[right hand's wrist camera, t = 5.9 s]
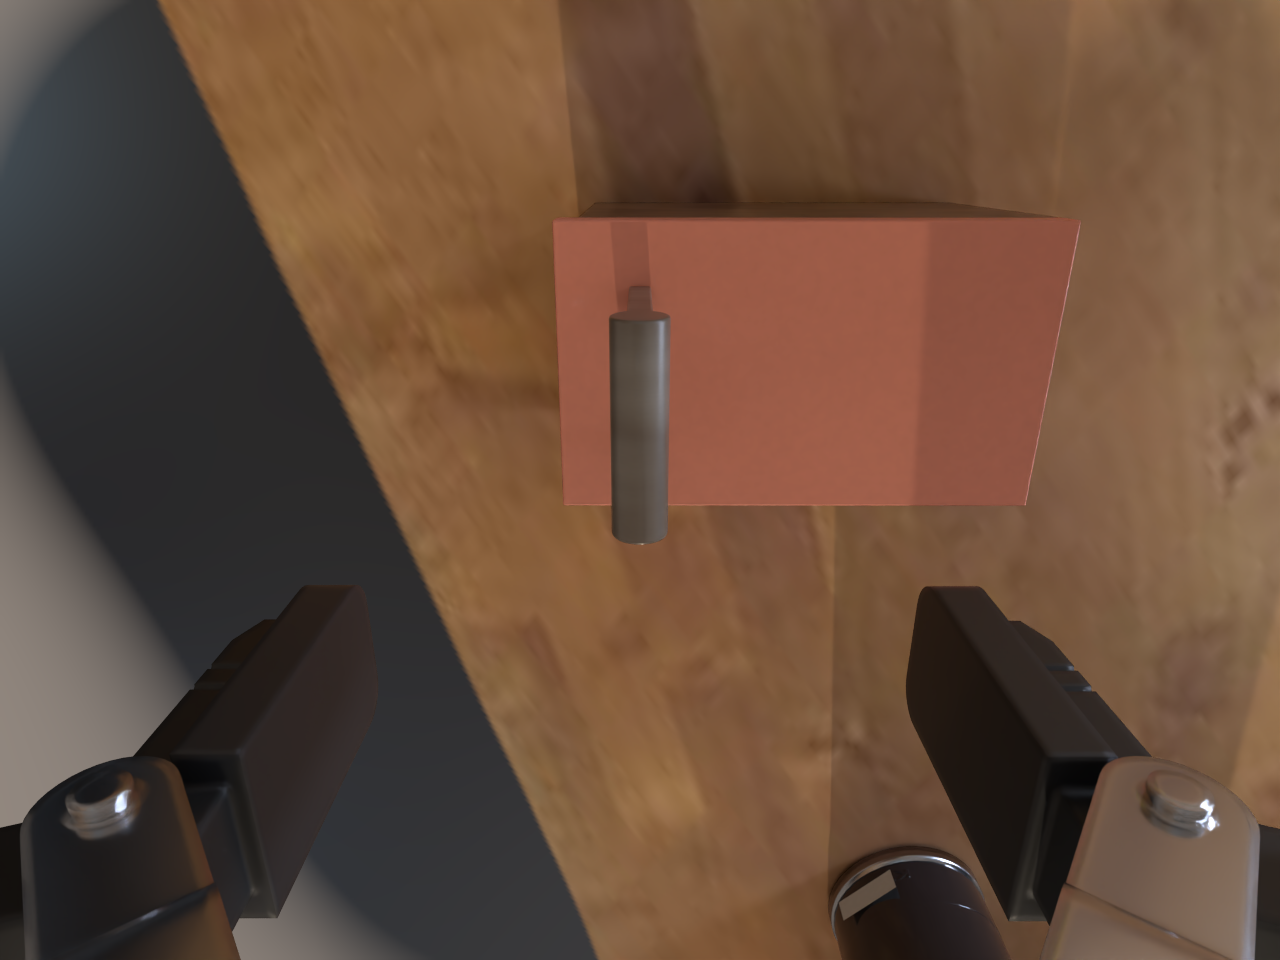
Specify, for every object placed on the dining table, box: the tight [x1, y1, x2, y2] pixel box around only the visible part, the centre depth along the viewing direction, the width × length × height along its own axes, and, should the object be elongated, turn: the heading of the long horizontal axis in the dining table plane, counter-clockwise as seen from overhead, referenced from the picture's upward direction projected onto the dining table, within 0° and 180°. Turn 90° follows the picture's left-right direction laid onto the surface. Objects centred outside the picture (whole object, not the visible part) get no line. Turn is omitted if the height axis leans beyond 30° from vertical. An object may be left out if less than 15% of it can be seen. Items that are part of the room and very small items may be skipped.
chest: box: [579, 203, 1058, 218], centre depth 32 cm, size 16×10×10 cm, turn 90°
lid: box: [552, 218, 1081, 544], centre depth 24 cm, size 16×10×8 cm, turn 90°
